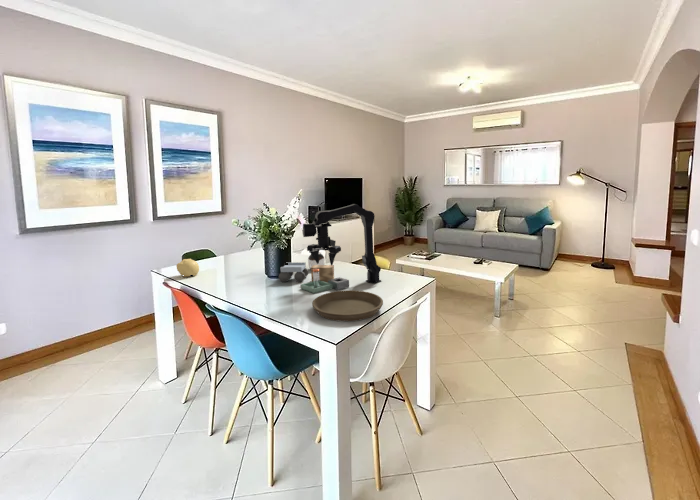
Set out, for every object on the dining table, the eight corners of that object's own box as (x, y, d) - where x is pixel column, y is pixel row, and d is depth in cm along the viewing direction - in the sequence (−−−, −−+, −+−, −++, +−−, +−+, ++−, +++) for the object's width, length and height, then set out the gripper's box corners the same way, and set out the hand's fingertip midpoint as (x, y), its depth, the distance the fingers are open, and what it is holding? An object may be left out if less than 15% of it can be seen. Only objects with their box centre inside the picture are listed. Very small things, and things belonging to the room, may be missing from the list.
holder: (349, 287, 197) (349, 280, 196) (337, 290, 191) (337, 283, 191) (339, 284, 203) (339, 277, 202) (328, 287, 197) (327, 280, 197)
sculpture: (187, 273, 237) (185, 256, 235) (203, 274, 233) (201, 257, 231) (174, 277, 226) (172, 260, 224) (191, 278, 223) (189, 261, 221)
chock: (334, 280, 211) (333, 265, 210) (333, 283, 206) (332, 267, 204) (313, 280, 212) (312, 265, 211) (311, 283, 206) (311, 267, 205)
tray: (332, 288, 194) (332, 284, 194) (314, 293, 187) (313, 289, 186) (319, 284, 203) (319, 280, 203) (301, 288, 196) (300, 284, 195)
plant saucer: (363, 329, 142) (362, 318, 141) (298, 316, 157) (297, 306, 156) (394, 304, 168) (394, 295, 168) (336, 296, 183) (335, 287, 182)
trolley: (308, 276, 220) (308, 262, 219) (304, 282, 208) (304, 267, 207) (284, 276, 221) (283, 262, 220) (278, 282, 210) (277, 267, 208)
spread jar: (320, 266, 245) (319, 249, 243) (329, 269, 236) (328, 252, 234) (304, 269, 238) (303, 251, 236) (313, 272, 229) (312, 254, 227)
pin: (321, 287, 195) (320, 269, 193) (315, 289, 193) (315, 270, 191) (317, 286, 198) (316, 268, 196) (312, 287, 195) (311, 269, 194)
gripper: (346, 233, 195) (347, 262, 198) (318, 232, 205) (320, 259, 208) (333, 237, 186) (335, 267, 189) (305, 235, 196) (307, 264, 199)
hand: (324, 264), depth 197 cm, fingers open, 9 cm apart
